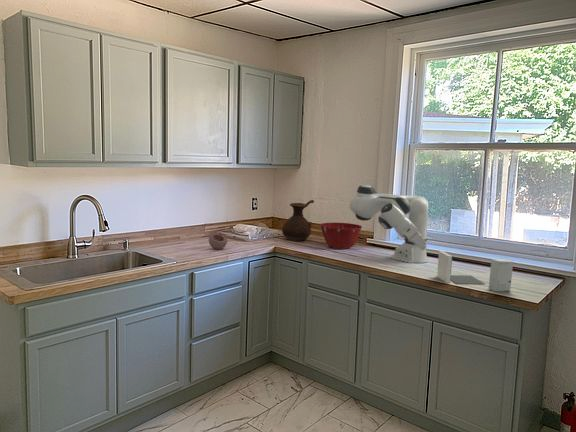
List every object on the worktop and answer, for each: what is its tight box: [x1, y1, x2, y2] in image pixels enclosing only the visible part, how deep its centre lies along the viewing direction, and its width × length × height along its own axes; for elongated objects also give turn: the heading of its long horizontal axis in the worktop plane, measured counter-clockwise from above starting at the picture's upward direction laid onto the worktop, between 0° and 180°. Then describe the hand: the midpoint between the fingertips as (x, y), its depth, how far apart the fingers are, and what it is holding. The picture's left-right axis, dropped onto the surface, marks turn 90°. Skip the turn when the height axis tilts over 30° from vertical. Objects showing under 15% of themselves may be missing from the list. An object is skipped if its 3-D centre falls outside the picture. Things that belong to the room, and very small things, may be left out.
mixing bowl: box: [319, 222, 363, 250], centre depth 317 cm, size 28×28×15 cm
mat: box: [450, 274, 486, 285], centre depth 241 cm, size 15×16×1 cm
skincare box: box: [488, 258, 514, 292], centre depth 224 cm, size 8×6×15 cm
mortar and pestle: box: [208, 231, 228, 250], centre depth 299 cm, size 12×12×12 cm
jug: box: [281, 199, 315, 242], centre depth 340 cm, size 22×22×30 cm
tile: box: [436, 250, 453, 284], centre depth 239 cm, size 2×12×14 cm, turn 3°
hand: (423, 248), depth 237 cm, fingers closed
